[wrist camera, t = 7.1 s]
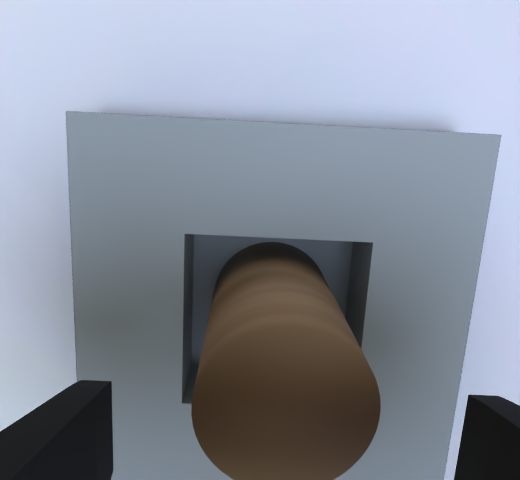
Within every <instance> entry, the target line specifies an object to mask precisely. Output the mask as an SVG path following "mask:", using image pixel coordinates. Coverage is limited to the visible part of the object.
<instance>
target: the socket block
mask: <svg viewBox="0 0 520 480" xmlns="http://www.w3.org/2000/svg"><path fill="white" fill-rule="evenodd" d="M66 129H67V153H68V177H69V202H70V226H71V250H72V275H73V299H74V323H75V348H76V372H77V382H78V381H80V380H97V381H112V424H113V474H112V477H111V480H234V479H232V478H230V477H229V476H227V475H226V474H224V473H223V472H221V471H220V470H219V469H218V468H217V467H216V466H215V465H214V464H213V463H212V462H211V461H210V460H209V458H208V457H207V456H206V454H205V453H204V451H203V450H202V448H201V447H200V444H199V442H198V440H197V438H196V435H195V432H194V428H193V423H192V416H191V407H192V398H193V392H194V387H195V382H196V377H197V372H198V368H199V363H200V358H201V353H202V348H203V343H204V338H205V333H206V329H207V324H208V319H209V314H210V309H211V304H212V299H213V294H214V289H215V285H216V281H217V278H218V276H219V274H220V271H221V270H222V268H223V267H224V265H225V264H226V263H227V262H228V260H229V259H230V258H231V257H233V256H234V255H235V254H236V253H238V252H239V251H241V250H242V249H244V248H246V247H248V246H251V245H254V244H258V243H263V242H279V243H285V244H288V245H292V246H294V247H296V248H298V249H300V250H302V251H303V252H305V253H306V254H307V255H308V256H310V257H311V258H312V259H313V260H314V261H315V263H316V264H317V265H318V267H319V268H320V270H321V272H322V274H323V276H324V278H325V280H326V282H327V284H328V286H329V288H330V290H331V292H332V294H333V296H334V298H335V299H336V301H337V303H338V305H339V307H340V309H341V311H342V313H343V315H344V317H345V319H346V321H347V323H348V325H349V327H350V329H351V331H352V333H353V334H354V336H355V338H356V340H357V342H358V344H359V346H360V348H361V350H362V352H363V354H364V356H365V358H366V360H367V362H368V364H369V366H370V368H371V370H372V372H373V374H374V376H375V378H376V381H377V384H378V387H379V393H380V401H381V411H380V419H379V423H378V427H377V431H376V433H375V435H374V438H373V440H372V442H371V444H370V445H369V447H368V449H367V450H366V452H365V453H364V454H363V456H362V457H361V458H360V459H359V460H358V461H357V462H356V463H355V464H354V465H353V466H352V467H351V468H350V469H349V470H347V471H346V472H345V473H343V474H342V475H341V476H339V477H337V478H336V479H334V480H444V474H445V468H446V462H447V456H448V450H449V444H450V438H451V432H452V426H453V420H454V414H455V408H456V402H457V397H458V391H459V385H460V379H461V373H462V367H463V361H464V355H465V349H466V343H467V337H468V331H469V325H470V319H471V313H472V307H473V301H474V295H475V289H476V283H477V277H478V271H479V265H480V259H481V254H482V248H483V242H484V236H485V230H486V224H487V218H488V212H489V206H490V200H491V194H492V188H493V182H494V176H495V170H496V164H497V158H498V152H499V146H500V140H501V135H495V134H476V133H458V132H440V131H422V130H404V129H385V128H367V127H349V126H331V125H313V124H294V123H276V122H258V121H240V120H221V119H203V118H185V117H167V116H149V115H130V114H112V113H94V112H76V111H66Z"/></svg>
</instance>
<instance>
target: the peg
mask: <svg viewBox="0 0 520 480" xmlns="http://www.w3.org/2000/svg"><path fill="white" fill-rule="evenodd" d="M380 411H381V401H380V393H379V387H378V384H377V381H376V378H375V376H374V374H373V372H372V370H371V368H370V366H369V364H368V362H367V360H366V358H365V356H364V354H363V352H362V350H361V348H360V346H359V344H358V342H357V340H356V338H355V336H354V334H353V333H352V331H351V329H350V327H349V325H348V323H347V321H346V319H345V317H344V315H343V313H342V311H341V309H340V307H339V305H338V303H337V301H336V299H335V298H334V296H333V294H332V292H331V290H330V288H329V286H328V284H327V282H326V280H325V278H324V276H323V274H322V272H321V270H320V268H319V267H318V265H317V264H316V263H315V261H314V260H313V259H312V258H311V257H310V256H308V255H307V254H306V253H305V252H303V251H302V250H300V249H298V248H296V247H294V246H292V245H288V244H285V243H279V242H263V243H258V244H254V245H251V246H248V247H246V248H244V249H242V250H241V251H239V252H238V253H236V254H235V255H234V256H233V257H231V258H230V259H229V260H228V262H227V263H226V264H225V265H224V267H223V268H222V270H221V271H220V274H219V276H218V278H217V281H216V285H215V289H214V294H213V299H212V304H211V309H210V314H209V319H208V324H207V329H206V333H205V338H204V343H203V348H202V353H201V358H200V363H199V368H198V372H197V377H196V382H195V387H194V392H193V398H192V407H191V416H192V423H193V428H194V432H195V435H196V438H197V440H198V442H199V444H200V447H201V448H202V450H203V451H204V453H205V454H206V456H207V457H208V458H209V460H210V461H211V462H212V463H213V464H214V465H215V466H216V467H217V468H218V469H219V470H220V471H221V472H223V473H224V474H226V475H227V476H229V477H230V478H232V479H234V480H334V479H336V478H337V477H339V476H341V475H342V474H343V473H345V472H346V471H347V470H349V469H350V468H351V467H352V466H353V465H354V464H355V463H356V462H357V461H358V460H359V459H360V458H361V457H362V456H363V454H364V453H365V452H366V450H367V449H368V447H369V445H370V444H371V442H372V440H373V438H374V435H375V433H376V431H377V427H378V423H379V419H380Z"/></svg>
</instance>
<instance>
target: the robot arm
mask: <svg viewBox="0 0 520 480" xmlns="http://www.w3.org/2000/svg"><path fill="white" fill-rule="evenodd" d="M112 474H113V424H112V381H97V380H80V381H78V382H76V383H74V384H73V385H71V386H69V387H68V388H66V389H65V390H63V391H62V392H60V393H59V394H57V395H55V396H54V397H52V398H51V399H49V400H48V401H46V402H45V403H43V404H42V405H40V406H39V407H37V408H36V409H34V410H33V411H31V412H30V413H28V414H27V415H25V416H24V417H22V418H21V419H19V420H18V421H16V422H14V423H13V424H11V425H10V426H8V427H7V428H5V429H4V430H2V431H1V432H0V480H111V477H112ZM454 480H520V406H519V405H517V404H515V403H513V402H511V401H509V400H506V399H504V398H502V397H499V396H486V395H468V401H467V407H466V413H465V419H464V425H463V430H462V436H461V442H460V448H459V454H458V460H457V466H456V471H455V477H454Z"/></svg>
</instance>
